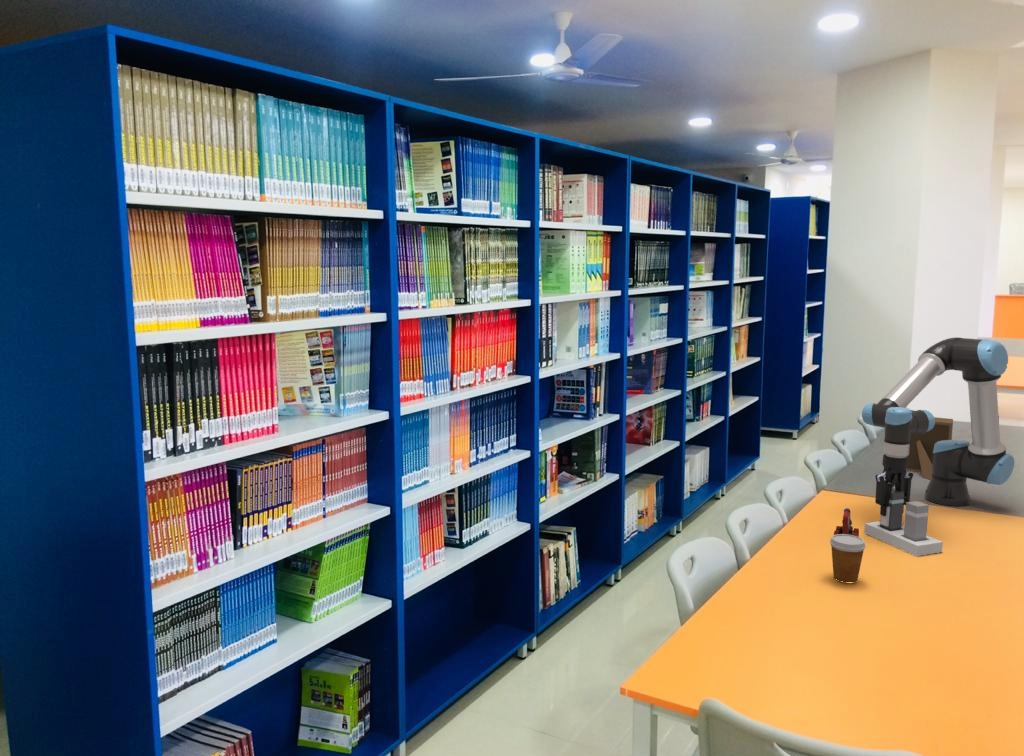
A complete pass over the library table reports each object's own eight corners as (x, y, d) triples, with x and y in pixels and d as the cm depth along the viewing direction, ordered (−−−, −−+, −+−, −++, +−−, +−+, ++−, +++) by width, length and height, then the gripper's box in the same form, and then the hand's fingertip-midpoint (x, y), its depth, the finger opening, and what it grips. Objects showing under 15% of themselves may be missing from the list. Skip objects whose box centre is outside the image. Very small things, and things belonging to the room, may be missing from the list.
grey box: (890, 528, 261) (893, 488, 259) (901, 533, 257) (904, 492, 255) (879, 530, 260) (882, 489, 258) (890, 534, 256) (893, 493, 253)
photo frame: (893, 466, 346) (897, 411, 342) (949, 473, 334) (954, 416, 330) (888, 475, 333) (892, 417, 329) (946, 482, 322) (951, 423, 318)
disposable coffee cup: (847, 588, 219) (850, 547, 217) (820, 576, 227) (822, 536, 226) (870, 582, 223) (873, 541, 222) (843, 570, 232) (845, 531, 230)
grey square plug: (914, 542, 252) (917, 500, 250) (925, 547, 248) (929, 505, 246) (902, 544, 251) (905, 502, 249) (914, 549, 246) (917, 506, 244)
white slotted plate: (888, 529, 266) (888, 520, 265) (941, 552, 245) (942, 542, 245) (864, 533, 263) (865, 523, 262) (916, 556, 242) (917, 545, 242)
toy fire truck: (859, 537, 259) (861, 506, 258) (855, 549, 249) (857, 517, 247) (836, 533, 263) (838, 503, 261) (832, 545, 252) (834, 514, 250)
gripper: (908, 450, 261) (903, 517, 264) (865, 454, 255) (860, 523, 259) (926, 455, 254) (921, 524, 257) (882, 460, 248) (878, 530, 252)
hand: (890, 523), depth 258 cm, fingers closed on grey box, 4 cm apart
